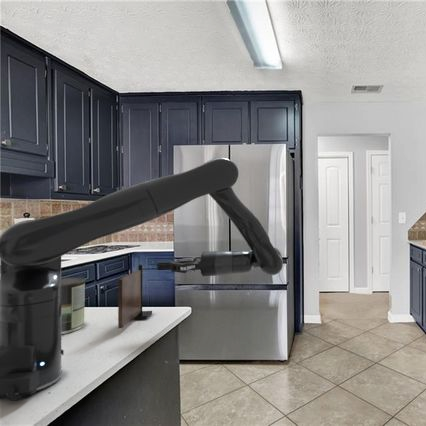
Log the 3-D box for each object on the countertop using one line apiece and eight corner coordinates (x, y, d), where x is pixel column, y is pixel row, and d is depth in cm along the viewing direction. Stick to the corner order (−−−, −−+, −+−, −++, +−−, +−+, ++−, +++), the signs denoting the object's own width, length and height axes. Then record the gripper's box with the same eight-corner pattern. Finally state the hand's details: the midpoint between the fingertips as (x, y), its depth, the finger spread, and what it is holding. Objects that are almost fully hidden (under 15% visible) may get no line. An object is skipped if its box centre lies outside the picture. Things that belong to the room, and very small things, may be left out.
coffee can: (49, 339, 81) (49, 287, 81) (32, 331, 86) (32, 282, 86) (92, 326, 91) (92, 279, 90) (75, 320, 95) (75, 275, 95)
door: (122, 328, 85) (122, 279, 85) (117, 328, 85) (118, 279, 85) (141, 312, 98) (141, 270, 98) (137, 312, 98) (137, 270, 98)
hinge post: (146, 319, 97) (146, 266, 96) (125, 320, 95) (126, 266, 95) (152, 314, 101) (152, 263, 101) (132, 315, 100) (133, 263, 100)
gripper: (220, 248, 100) (164, 250, 97) (214, 254, 87) (149, 257, 84) (221, 270, 100) (165, 273, 97) (215, 280, 87) (150, 284, 84)
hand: (158, 266), depth 90 cm, fingers closed
